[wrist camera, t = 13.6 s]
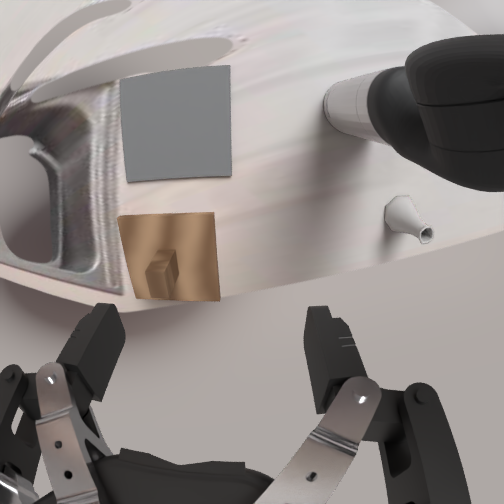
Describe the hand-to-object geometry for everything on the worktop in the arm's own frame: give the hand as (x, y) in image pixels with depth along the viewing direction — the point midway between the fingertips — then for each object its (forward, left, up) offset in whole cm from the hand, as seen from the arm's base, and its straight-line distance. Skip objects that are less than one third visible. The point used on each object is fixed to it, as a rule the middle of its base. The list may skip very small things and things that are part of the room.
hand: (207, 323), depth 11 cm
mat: (+10, -7, -36) cm, 38 cm away
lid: (+10, +12, -27) cm, 31 cm away
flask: (-30, +8, -36) cm, 48 cm away
